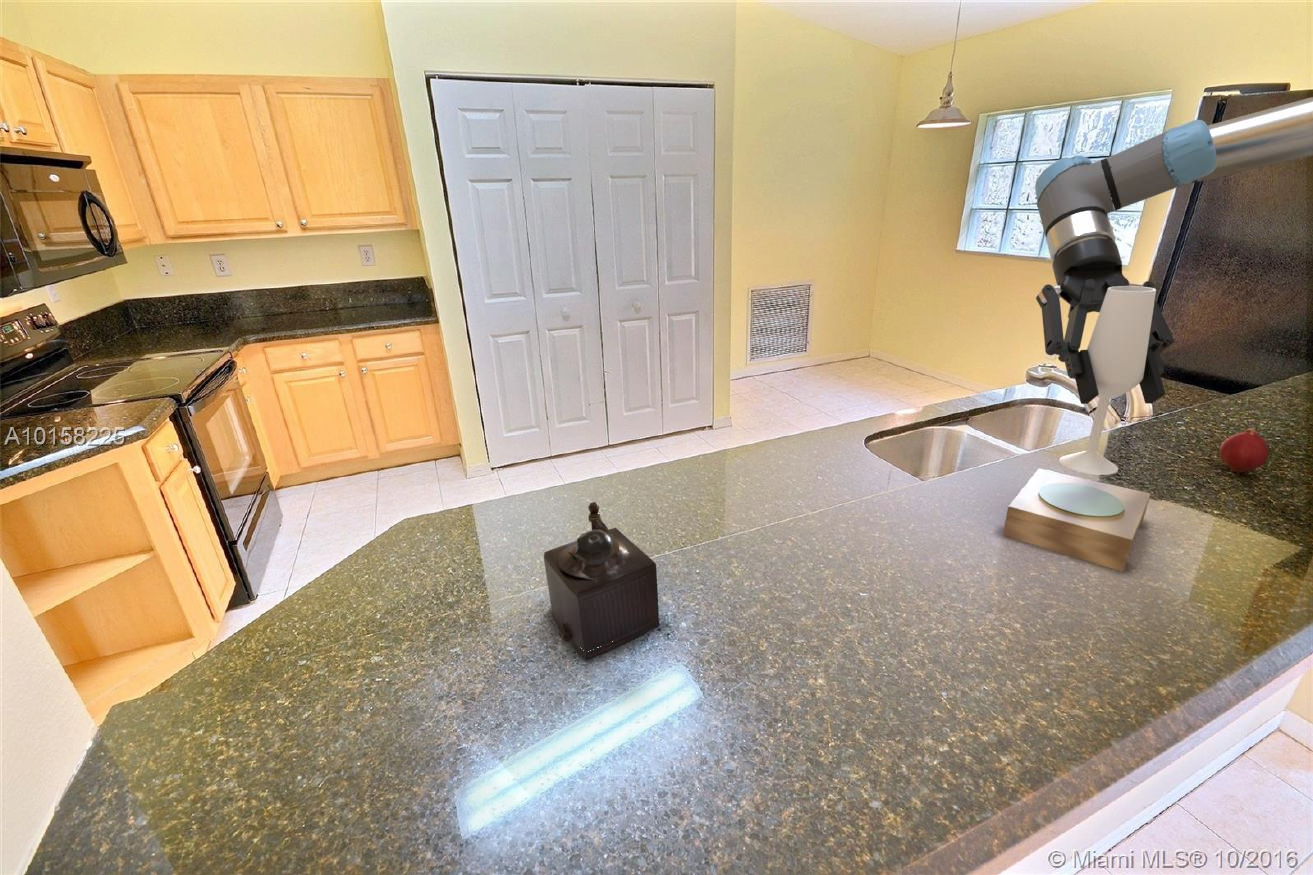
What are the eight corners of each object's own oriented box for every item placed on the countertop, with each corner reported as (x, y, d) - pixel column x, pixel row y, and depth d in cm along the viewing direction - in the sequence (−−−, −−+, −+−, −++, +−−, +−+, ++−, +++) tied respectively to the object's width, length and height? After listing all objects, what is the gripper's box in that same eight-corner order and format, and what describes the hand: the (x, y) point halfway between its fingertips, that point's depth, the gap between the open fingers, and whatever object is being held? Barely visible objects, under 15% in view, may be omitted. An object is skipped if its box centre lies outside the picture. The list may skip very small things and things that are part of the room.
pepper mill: (545, 616, 73) (524, 490, 66) (621, 584, 78) (609, 464, 72) (600, 695, 61) (581, 549, 54) (686, 651, 66) (679, 513, 59)
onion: (1215, 462, 101) (1229, 419, 98) (1261, 471, 97) (1277, 426, 94) (1212, 473, 98) (1226, 429, 95) (1260, 483, 94) (1276, 437, 91)
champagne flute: (1126, 465, 80) (1175, 287, 70) (1105, 479, 76) (1154, 294, 67) (1072, 450, 85) (1111, 283, 76) (1050, 463, 81) (1088, 290, 72)
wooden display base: (1142, 523, 85) (1151, 492, 83) (1122, 573, 74) (1132, 538, 72) (1033, 495, 94) (1039, 467, 92) (1002, 536, 84) (1008, 504, 82)
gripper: (1144, 268, 84) (1189, 411, 75) (997, 273, 87) (1024, 411, 78) (1179, 231, 77) (1233, 384, 68) (1019, 238, 80) (1051, 386, 71)
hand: (1122, 398), depth 73 cm, fingers closed on champagne flute, 7 cm apart
